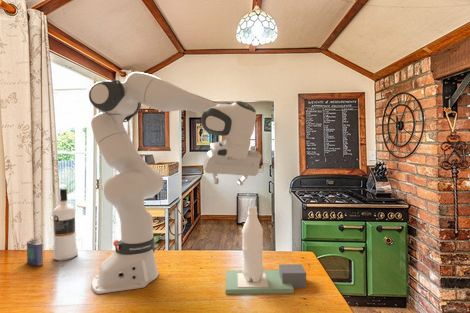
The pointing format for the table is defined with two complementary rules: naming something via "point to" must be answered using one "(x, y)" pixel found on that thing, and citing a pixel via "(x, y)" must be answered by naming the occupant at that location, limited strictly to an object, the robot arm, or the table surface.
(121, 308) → the table surface
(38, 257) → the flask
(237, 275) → the green board with pad
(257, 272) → the water bottle
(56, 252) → the vodka
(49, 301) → the table surface
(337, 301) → the table surface
